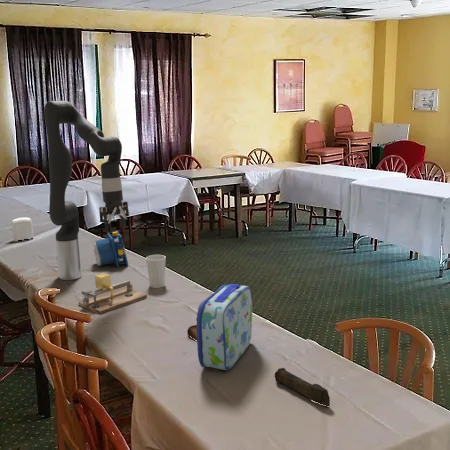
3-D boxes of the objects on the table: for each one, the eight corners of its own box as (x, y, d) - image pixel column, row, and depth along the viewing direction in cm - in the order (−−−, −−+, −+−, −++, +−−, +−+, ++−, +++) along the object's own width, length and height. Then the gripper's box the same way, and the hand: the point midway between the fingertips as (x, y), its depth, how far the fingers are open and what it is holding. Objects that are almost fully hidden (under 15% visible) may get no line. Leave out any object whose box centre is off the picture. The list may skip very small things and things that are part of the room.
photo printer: (14, 242, 320) (12, 219, 317) (13, 240, 324) (10, 218, 321) (34, 239, 325) (31, 217, 322) (32, 237, 328) (30, 215, 326)
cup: (170, 283, 247) (169, 255, 244) (160, 289, 240) (159, 261, 237) (154, 281, 251) (152, 253, 248) (143, 287, 244) (142, 259, 241)
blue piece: (123, 257, 285) (117, 227, 281) (128, 265, 272) (122, 234, 267) (96, 264, 282) (89, 234, 278) (100, 273, 268) (92, 241, 264)
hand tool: (273, 382, 164) (273, 367, 163) (284, 378, 166) (284, 363, 165) (321, 412, 149) (321, 396, 148) (332, 407, 151) (333, 391, 150)
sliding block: (96, 297, 229) (94, 275, 227) (105, 294, 232) (103, 272, 230) (108, 301, 224) (106, 279, 222) (117, 298, 226) (115, 276, 224)
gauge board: (78, 305, 225) (77, 289, 224) (125, 289, 241) (124, 275, 240) (100, 314, 216) (99, 298, 215) (147, 297, 232) (146, 282, 230)
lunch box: (224, 336, 195) (223, 275, 190) (256, 340, 191) (255, 278, 186) (193, 372, 171) (190, 303, 166) (228, 377, 167) (226, 308, 162)
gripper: (116, 186, 237) (120, 226, 240) (91, 191, 225) (96, 233, 228) (131, 186, 233) (135, 227, 236) (107, 192, 221) (111, 234, 224)
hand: (116, 230), depth 232 cm, fingers open, 8 cm apart
